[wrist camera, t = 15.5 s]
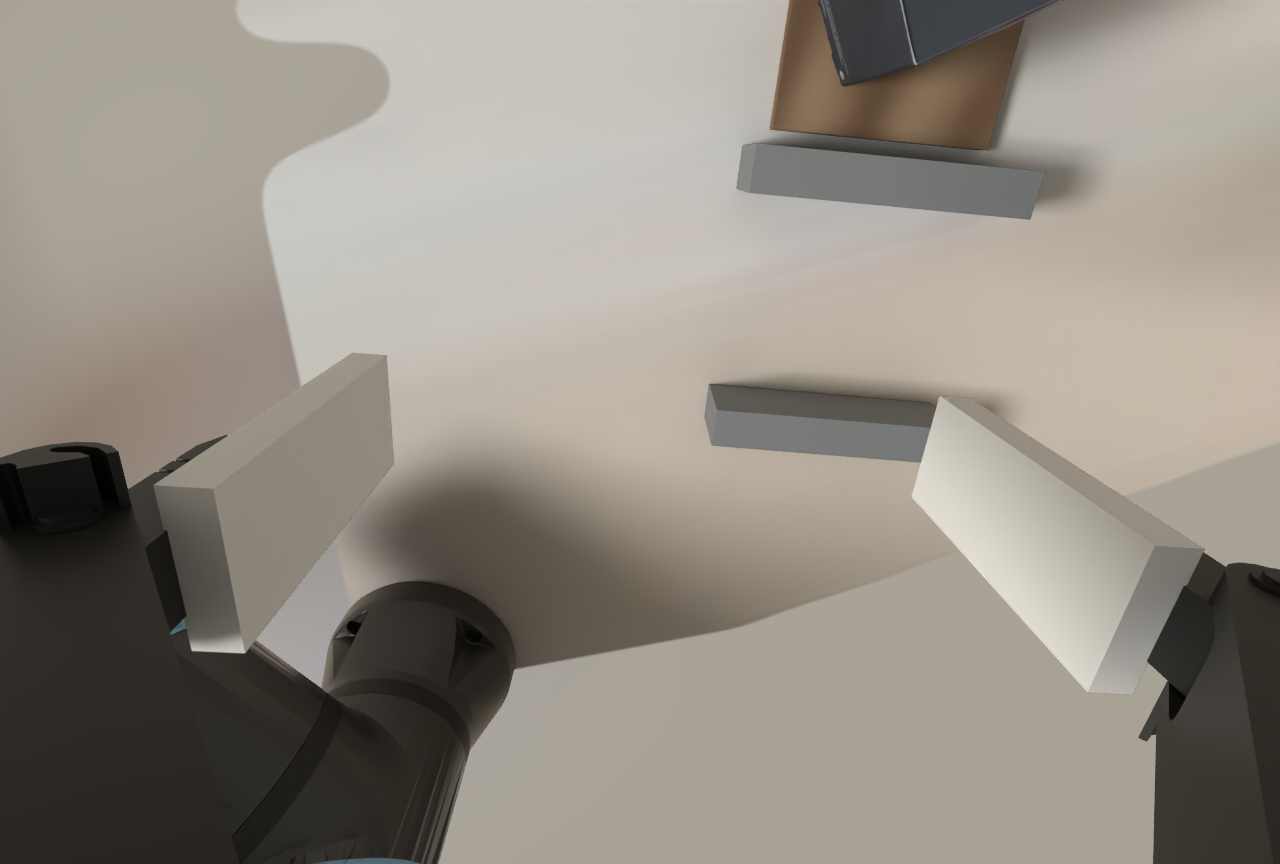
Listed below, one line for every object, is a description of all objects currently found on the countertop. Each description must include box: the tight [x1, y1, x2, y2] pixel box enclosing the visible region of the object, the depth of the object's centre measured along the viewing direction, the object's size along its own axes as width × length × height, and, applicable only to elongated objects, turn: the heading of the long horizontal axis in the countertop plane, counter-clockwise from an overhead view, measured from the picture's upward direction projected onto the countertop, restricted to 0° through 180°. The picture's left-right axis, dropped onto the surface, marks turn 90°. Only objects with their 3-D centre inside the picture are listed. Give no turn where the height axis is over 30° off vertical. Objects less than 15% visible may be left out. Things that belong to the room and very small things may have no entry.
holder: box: [705, 143, 1045, 462], centre depth 40 cm, size 16×18×5 cm
